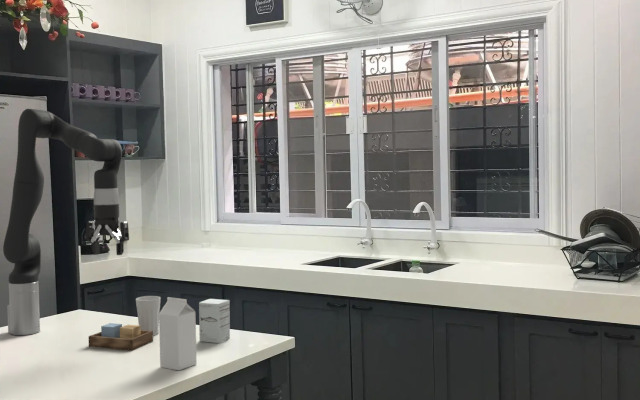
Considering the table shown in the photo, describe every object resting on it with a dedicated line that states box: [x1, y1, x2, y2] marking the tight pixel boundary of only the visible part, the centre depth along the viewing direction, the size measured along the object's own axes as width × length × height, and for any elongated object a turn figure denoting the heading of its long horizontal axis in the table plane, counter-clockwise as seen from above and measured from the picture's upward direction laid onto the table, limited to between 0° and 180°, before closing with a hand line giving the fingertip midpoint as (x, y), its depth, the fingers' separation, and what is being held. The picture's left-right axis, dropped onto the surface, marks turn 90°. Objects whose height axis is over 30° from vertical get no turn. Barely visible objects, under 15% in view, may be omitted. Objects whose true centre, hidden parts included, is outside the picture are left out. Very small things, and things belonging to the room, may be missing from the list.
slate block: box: [100, 322, 123, 338], centre depth 224 cm, size 4×4×5 cm
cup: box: [135, 295, 161, 337], centre depth 235 cm, size 8×8×12 cm
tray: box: [88, 330, 154, 352], centre depth 222 cm, size 16×12×3 cm
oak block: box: [120, 324, 141, 339], centre depth 221 cm, size 4×4×5 cm
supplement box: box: [198, 298, 231, 344], centre depth 226 cm, size 7×7×13 cm
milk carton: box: [158, 296, 198, 371], centre depth 197 cm, size 7×7×19 cm
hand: (108, 254), depth 222 cm, fingers open, 8 cm apart
